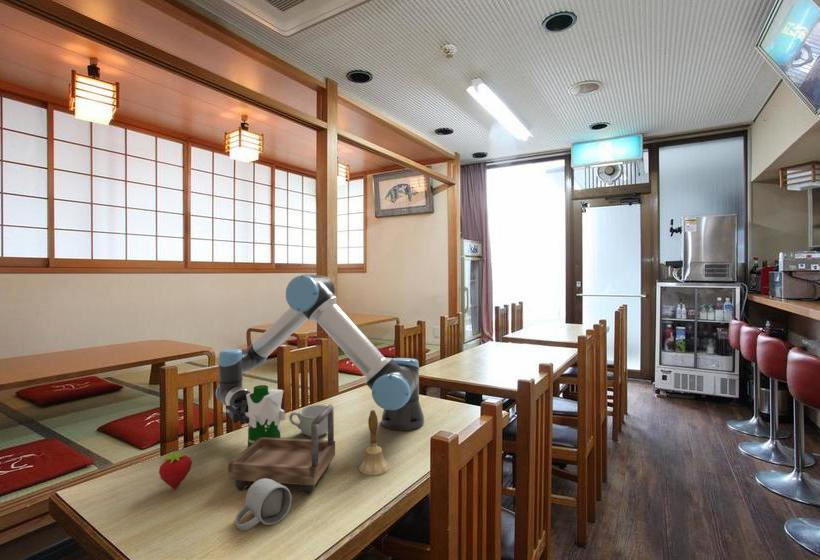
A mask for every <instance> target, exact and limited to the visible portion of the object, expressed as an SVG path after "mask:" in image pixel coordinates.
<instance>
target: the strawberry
mask: <svg viewBox="0 0 820 560" xmlns="http://www.w3.org/2000/svg"><path fill="white" fill-rule="evenodd" d="M176 451H177V449H175V450H174V451H173V453H175V452H176ZM184 453H185V451H184V452H181V453H177V452H176V453H175V454H168V457H166V458H164V459H163V460H162V461H163V462H162V463H161V465H160V466H159V470H158V474H159V476H160V479H161V480H162V481H163V482H164V483H165V484H166V485H168V486H169V487H170V488H172V489H177V488H179V487H180V485H181V484H182V482H183V481H185V479H186V477H187V476H188V474H189V473H190V471H191V469H192V464H193V461H192V458H191V457H190V456H188V455H187V454H184Z"/></svg>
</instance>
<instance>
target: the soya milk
mask: <svg viewBox="0 0 820 560" xmlns="http://www.w3.org/2000/svg"><path fill="white" fill-rule="evenodd" d="M250 392H251V393H248V394H246V397H247V402H248V413H249V414H251V415H252V416H254V417H255V418H256V428H253V427H251V426H250V425H249V424H247V426H248V427H247V447H246V448H248V447H249V446H250V445H251V444H253V443H254V442H255V441H256V440H257V439H259V438H260V437H268V438H282V436H281V434H282V433H281V429H282V428H281V424H282V423H281V421H282V420H281V419H280V410H281V403H282V401H283V400H282V399H283V396H284V395H283V394H284V390H283V389H277V388H269V386H268V385H265V384H263V385H262V384H260V385H259V384H258V385H256V386H253V391H250Z"/></svg>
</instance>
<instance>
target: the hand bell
mask: <svg viewBox="0 0 820 560" xmlns="http://www.w3.org/2000/svg"><path fill="white" fill-rule="evenodd" d="M367 421H368V429H369V432H370V446H368V447H366V449H365V454H364V459H363V461H362V462H361V464H360V465H359V467H358V470H359V472H360V473H361V474H362V475H364V476H370V477H371V476H372V477H373V476H381V475H384V474H386V473H387V472H388V471H389V470H390V465H389V463H388V462H387V461H386V460H385V458H384V455H383V449H382V447H381V446H379V445H378V442H377V431H378V426H379V422H378V421H379V420H378V416H377V412H376V410H375V409H372V410H370V413H369V416H368V420H367Z"/></svg>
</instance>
